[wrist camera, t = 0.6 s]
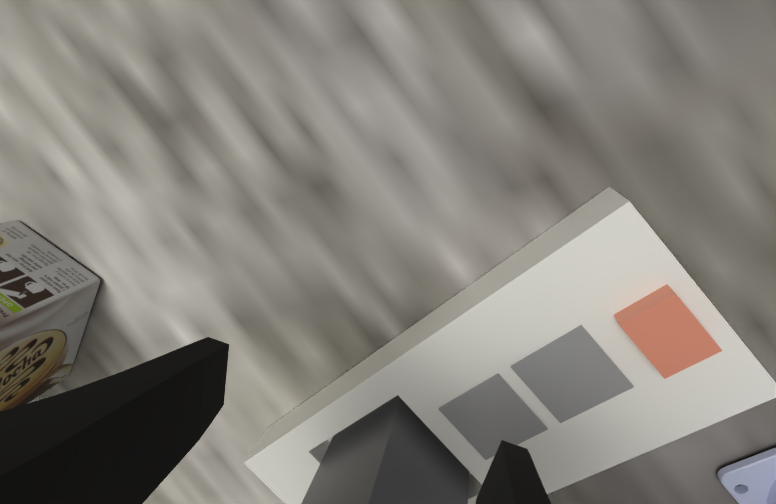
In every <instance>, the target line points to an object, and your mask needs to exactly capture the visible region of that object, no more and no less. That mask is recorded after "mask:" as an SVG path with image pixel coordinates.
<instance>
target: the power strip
mask: <svg viewBox="0 0 776 504" xmlns="http://www.w3.org/2000/svg"><path fill="white" fill-rule="evenodd" d="M397 395H398V396H399V397H400V398H401V399H402V400H403V401H404V402H405V403H406V404H407V405H408V407H409V408H410V409H411V410H412V411H413V412H414V413H415V414H416V415H417V416H418V417H419V418H420V419H421V420H422V421H423V423H424V424H425V425H426V426H427V427H428V428H429V429H430V430H431V431H432V432H433V433H434V434H435V435H436V436H437V437H438V439H439V440H440V441H441V442H442V443H443V444H444V445H445V446H446V447H447V448H448V449H449V450H450V451H451V452H452V453H453V455H454V456H455V457H456V458H457V459H458V460H459V461H460V462H461V463H462V464H463V465H464V466H465V467H466V468H467V469H468V471H469V472H470V473H469V489H468V504H476V498H477V496H478V493H479V491H480V489H481V487H482V484H483V482H484V480H485V477H486V475H487V473H488V470H489V468H490V466H491V463H492V461H493V459H494V456H495V454H496V452H497V449H498V447H499V445H500V443H501V440H503V441H506V442H509V443H512V444H515V445H518V446H520V447H523V448H526V449H528V451H529V453H530V455H531V458H532V460H533V462H534V465H535V467H536V470H537V472H538V474H539V477H540V479H541V481H542V484H543V486H544V488H545V491H546V493H547V494H549V493H551V492H554V491H556V490H559V489H561V488H563V487H566V486H568V485H570V484H573V483H575V482H577V481H580V480H582V479H585V478H587V477H589V476H592V475H594V474H596V473H599V472H601V471H603V470H606V469H608V468H611V467H613V466H615V465H618V464H620V463H622V462H625V461H627V460H629V459H632V458H634V457H636V456H639V455H641V454H644V453H646V452H648V451H651V450H653V449H655V448H658V447H660V446H662V445H665V444H667V443H670V442H672V441H674V440H677V439H679V438H681V437H684V436H686V435H688V434H691V433H693V432H696V431H698V430H700V429H703V428H705V427H707V426H710V425H712V424H714V423H717V422H719V421H721V420H724V419H726V418H729V417H731V416H733V415H736V414H738V413H740V412H743V411H745V410H747V409H750V408H752V407H755V406H757V405H759V404H762V403H764V402H766V401H769V400H771V399H773V398H776V383H775V381H774V380H773V379H772V378H771V376H770V375H769V374H768V373H767V371H766V370H765V369H764V368H763V366H762V365H761V364H760V363H759V361H758V360H757V359H756V358H755V356H754V355H753V354H752V353H751V352H750V350H749V349H748V348H747V347H746V345H745V344H744V343H743V342H742V340H741V339H740V338H739V337H738V335H737V334H736V333H735V332H734V330H733V329H732V328H731V327H730V325H729V324H728V323H727V322H726V320H725V319H724V318H723V317H722V316H721V314H720V313H719V312H718V311H717V309H716V308H715V307H714V306H713V304H712V303H711V302H710V301H709V299H708V298H707V297H706V296H705V294H704V293H703V292H702V291H701V289H700V288H699V287H698V286H697V285H696V283H695V282H694V281H693V280H692V278H691V277H690V276H689V275H688V273H687V272H686V271H685V270H684V268H683V267H682V266H681V265H680V263H679V262H678V261H677V260H676V258H675V257H674V256H673V255H672V253H671V252H670V251H669V250H668V249H667V247H666V246H665V245H664V244H663V242H662V241H661V240H660V239H659V237H658V236H657V235H656V234H655V232H654V231H653V230H652V229H651V227H650V226H649V225H648V224H647V222H646V221H645V220H644V219H643V218H642V216H641V215H640V214H639V213H638V211H637V210H636V209H635V208H634V206H633V205H632V204H631V203H630V201H628V200H627V199H626V198H624V197H623V196H621V195H620V194H619V193H617V192H616V191H615V190H613V189H612V188H610V187H608V188H607V189H605V190H604V191H602V192H601V193H600V194H598V195H597V196H595V197H594V198H593V199H591V200H590V201H588V202H587V203H585V204H584V205H583V206H581V207H580V208H578V209H577V210H576V211H574V212H573V213H571V214H570V215H568V216H567V217H566V218H564V219H563V220H561V221H560V222H559V223H557V224H556V225H554V226H553V227H551V228H550V229H549V230H547V231H546V232H544V233H543V234H542V235H540V236H539V237H537V238H536V239H534V240H533V241H532V242H530V243H529V244H527V245H526V246H525V247H523V248H522V249H520V250H519V251H517V252H516V253H515V254H513V255H512V256H510V257H509V258H508V259H506V260H505V261H503V262H502V263H500V264H499V265H498V266H496V267H495V268H493V269H492V270H491V271H489V272H488V273H486V274H485V275H483V276H482V277H481V278H479V279H478V280H476V281H475V282H474V283H472V284H471V285H469V286H468V287H466V288H465V289H464V290H462V291H461V292H459V293H458V294H457V295H455V296H454V297H452V298H451V299H449V300H448V301H447V302H445V303H444V304H442V305H441V306H440V307H438V308H437V309H435V310H434V311H432V312H431V313H430V314H428V315H427V316H425V317H424V318H423V319H421V320H420V321H418V322H417V323H415V324H414V325H413V326H411V327H410V328H408V329H407V330H406V331H404V332H403V333H401V334H400V335H398V336H397V337H396V338H394V339H393V340H391V341H390V342H389V343H387V344H386V345H384V346H383V347H382V348H380V349H379V350H377V351H376V352H374V353H373V354H372V355H370V356H369V357H367V358H366V359H365V360H363V361H362V362H360V363H359V364H357V365H356V366H355V367H353V368H352V369H350V370H349V371H348V372H346V373H345V374H343V375H342V376H340V377H339V378H338V379H336V380H335V381H333V382H332V383H331V384H329V385H328V386H326V387H325V388H323V389H322V390H321V391H319V392H318V393H316V394H315V395H314V396H312V397H311V398H309V399H308V400H306V401H305V402H304V403H302V404H301V405H299V406H298V407H297V408H295V409H294V410H292V411H291V412H289V413H288V414H287V415H285V416H284V417H282V418H281V419H280V420H278V421H277V422H275V423H274V424H272V425H271V426H270V427H268V428H267V429H266V431H265V432H264V434H263V435H262V437H261V438H260V440H259V441H258V443H257V444H256V445H255V447H254V448H253V450H252V451H251V453H250V454H249V456H248V457H247V459H246V460H245V461H244V464H245V465H246V466H247V467H248V468H249V469H250V470H252V471H253V472H254V473H255V474H256V475H257V476H258V477H259V478H260V479H261V480H262V481H263V482H264V483H265V484H266V485H267V486H268V487H269V488H270V489H271V490H272V491H273V492H274V493H275V494H276V495H277V496H278V497H279V498H280V499H281V500H282V501H283V502H284V503H285V504H301V503H302V501H303V499H304V497H305V495H306V493H307V491H308V488H309V486H310V484H311V482H312V480H313V478H314V476H315V474H316V472H317V469H318V467H319V465H320V463H321V461H322V459H323V457H324V455H325V453H326V450H327V448H328V446H329V444H330V442H331V440H332V438H333V436H334V435H335V434H337V433H338V432H340V431H342V430H343V429H345V428H346V427H348V426H349V425H351V424H353V423H354V422H356V421H357V420H359V419H361V418H362V417H364V416H365V415H367V414H369V413H370V412H372V411H373V410H375V409H376V408H378V407H380V406H381V405H383V404H384V403H386V402H388V401H389V400H391V399H392V398H394V397H395V396H397Z"/></svg>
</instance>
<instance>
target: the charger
mask: <svg viewBox="0 0 776 504" xmlns="http://www.w3.org/2000/svg"><path fill="white" fill-rule="evenodd" d="M469 473H470V472H469V471H468V469H467V468H466V467H465V466H464V465H463V464H462V463H461V462H460V461H459V460H458V459H457V458H456V457H455V456H454V455H453V453H452V452H451V451H450V450H449V449H448V448H447V447H446V446H445V445H444V444H443V443H442V442H441V441H440V440H439V439H438V437H437V436H436V435H435V434H434V433H433V432H432V431H431V430H430V429H429V428H428V427H427V426H426V425H425V424H424V423H423V421H422V420H421V419H420V418H419V417H418V416H417V415H416V414H415V413H414V412H413V411H412V410H411V409H410V408H409V407H408V405H407V404H406V403H405V402H404V401H403V400H402V399H401V398H400V397H399V396H398V395H397V396H395V397H394V398H392V399H391V400H389V401H388V402H386V403H384V404H383V405H381V406H380V407H378V408H376V409H375V410H373V411H372V412H370V413H369V414H367V415H365V416H364V417H362V418H361V419H359V420H357V421H356V422H354V423H353V424H351V425H349V426H348V427H346V428H345V429H343V430H342V431H340V432H338V433H337V434H335V435H334V436H333V438H332V440H331V442H330V444H329V446H328V448H327V450H326V453H325V455H324V457H323V459H322V461H321V463H320V465H319V467H318V469H317V472H316V474H315V476H314V478H313V480H312V482H311V484H310V486H309V488H308V491H307V493H306V495H305V497H304V499H303V501H302V503H301V504H468V489H469Z"/></svg>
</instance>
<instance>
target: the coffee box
mask: <svg viewBox="0 0 776 504" xmlns="http://www.w3.org/2000/svg"><path fill="white" fill-rule="evenodd" d="M100 281H101V280H100V279H99V278H98V277H97V276H96V275H94V274H93V273H91V272H90V271H89V270H87V269H86V268H84V267H83V266H81V265H80V264H79V263H77V262H76V261H74V260H73V259H72V258H70V257H69V256H67V255H66V254H65V253H63V252H62V251H60V250H59V249H57V248H56V247H55V246H53V245H52V244H51V243H49V242H48V241H46V240H45V239H44V238H42V237H41V236H39V235H38V234H36V233H35V232H34V231H32V230H31V229H29V228H28V227H27V226H25V225H24V224H22V223H21V222H19V221H10V222H5V223H1V224H0V411H4V410H8V409H11V408H15V407H18V406H22V405H25V404H27V403H28V402H30V401H32V400H33V399H35V398H36V397H38V396H39V395H41V394H42V393H44V392H45V391H47V390H48V389H50V388H51V387H53V386H54V385H56V384H58V383H59V382H61V381H62V380H64V379H65V378H67V377H68V376H69V375H70V372H71V369H72V366H73V363H74V360H75V357H76V354H77V351H78V348H79V345H80V342H81V339H82V336H83V333H84V330H85V327H86V324H87V321H88V318H89V315H90V312H91V309H92V306H93V303H94V300H95V297H96V294H97V291H98V288H99V285H100Z"/></svg>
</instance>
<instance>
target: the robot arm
mask: <svg viewBox="0 0 776 504" xmlns="http://www.w3.org/2000/svg"><path fill="white" fill-rule="evenodd" d="M228 350H229V344H226V343H224V342H221V341H218V340H215V339H212V338H209V337H207V338H205V339H202V340H199V341H197V342H194V343H192V344H189V345H187V346H184V347H182V348H179V349H177V350H175V351H172V352H170V353H167V354H165V355H163V356H160V357H158V358H155V359H153V360H150V361H148V362H145V363H143V364H140V365H138V366H135V367H133V368H130V369H128V370H125V371H123V372H120V373H117V374H115V375H112V376H109V377H106V378H104V379H101V380H98V381H95V382H93V383H90V384H87V385H84V386H82V387H79V388H76V389H73V390H70V391H67V392H64V393H61V394H58V395H55V396H52V397H49V398H45V399H42V400H39V401H35V402H32V403H28V404H25V405H22V406H18V407H15V408H11V409H8V410H4V411H0V504H142V503H143V502H144V501H145V500H146V499H147V498H148V497H149V495H150V494H151V493H152V492H153V491H154V490H155V489H156V488H157V487H158V485H159V484H160V483H161V482H162V481H163V480H164V479H165V478H166V477H167V475H168V474H169V473H170V472H171V471H172V470H173V469H174V468H175V467H176V465H177V464H178V463H179V462H180V461H181V460H182V459H183V457H184V456H185V455H186V454H187V453H188V452H189V451H190V450H191V448H192V447H193V446H194V445H195V444H196V443H197V442H198V440H199V439H200V438H201V436H202V435H203V434H204V432H205V431H206V429H207V428H208V427H209V425H210V424H211V423H212V421H213V420H214V418H215V417H216V415H217V414H218V412H219V411H220V409H221V408H222V406H223V405H224V394H225V383H226V372H227V361H228ZM718 478H719V480H720V481H721V483H722V485H723V486H724V487H725V488H726V489H727V491H728V492H729V493H730V494H731V495H732V496H733V498H734V499H735V500H736V501H737V502H738V504H776V448H773V449H770V450H768V451H765V452H762V453H760V454H757V455H755V456H752V457H749V458H747V459H744V460H741V461H739V462H736V463H734V464H731V465H728V466H726V467H723V468H722V469H720V470H719V472H718ZM741 484H742V485H741ZM737 485H740V486H737ZM476 504H551V502H550V500H549V498H548V495H547V493H546V491H545V488H544V486H543V484H542V481H541V479H540V477H539V474H538V472H537V470H536V467H535V465H534V462H533V460H532V458H531V455H530V453H529V451H528V449H526V448H523V447H520V446H518V445H515V444H512V443H509V442H506V441H503V440H501V443H500V445H499V447H498V449H497V452H496V454H495V456H494V459H493V461H492V463H491V466H490V468H489V470H488V473H487V475H486V477H485V480H484V482H483V484H482V487H481V489H480V491H479V493H478V496H477V498H476Z"/></svg>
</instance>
